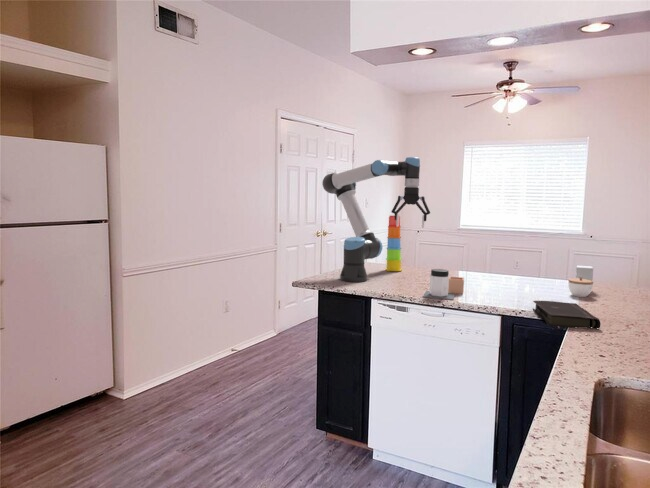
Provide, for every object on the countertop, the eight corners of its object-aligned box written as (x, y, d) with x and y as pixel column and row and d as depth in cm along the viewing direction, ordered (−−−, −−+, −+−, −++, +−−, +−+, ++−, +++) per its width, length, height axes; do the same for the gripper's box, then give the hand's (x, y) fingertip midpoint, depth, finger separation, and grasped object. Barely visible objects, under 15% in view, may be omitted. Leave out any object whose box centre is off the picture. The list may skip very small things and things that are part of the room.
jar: (438, 297, 220) (439, 272, 219) (425, 294, 227) (426, 269, 226) (451, 295, 225) (452, 270, 224) (439, 292, 232) (440, 268, 231)
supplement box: (590, 289, 247) (592, 266, 245) (591, 292, 240) (593, 268, 239) (574, 288, 250) (576, 265, 248) (575, 291, 243) (577, 267, 242)
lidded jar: (589, 294, 236) (591, 276, 234) (594, 299, 225) (595, 279, 224) (565, 292, 239) (567, 274, 238) (569, 296, 229) (570, 278, 228)
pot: (448, 292, 233) (448, 278, 232) (449, 290, 239) (449, 276, 239) (462, 294, 231) (463, 280, 230) (463, 291, 237) (464, 277, 236)
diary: (576, 314, 199) (578, 302, 198) (599, 331, 174) (601, 318, 174) (530, 310, 202) (531, 299, 202) (546, 327, 178) (547, 314, 177)
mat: (422, 297, 222) (422, 296, 222) (426, 291, 235) (426, 290, 235) (453, 300, 217) (453, 299, 217) (455, 294, 230) (455, 293, 230)
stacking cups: (383, 271, 292) (385, 215, 288) (387, 268, 302) (389, 214, 298) (399, 272, 289) (402, 216, 285) (403, 269, 298) (405, 215, 294)
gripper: (387, 186, 249) (385, 226, 252) (435, 187, 241) (433, 228, 244) (389, 186, 256) (388, 225, 259) (436, 187, 248) (434, 227, 251)
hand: (410, 226), depth 251 cm, fingers open, 13 cm apart
